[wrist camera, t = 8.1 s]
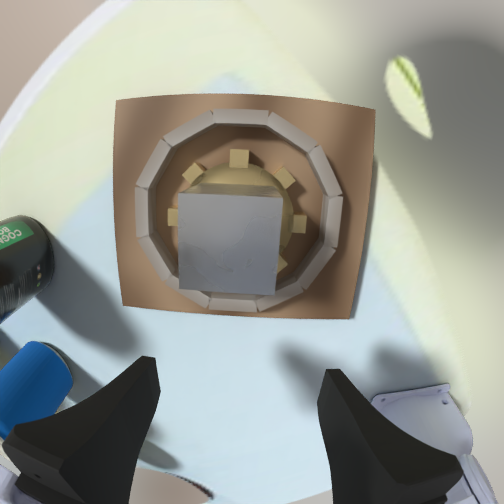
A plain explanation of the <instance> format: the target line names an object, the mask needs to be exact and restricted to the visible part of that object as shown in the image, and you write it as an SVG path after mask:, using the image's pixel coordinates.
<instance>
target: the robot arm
mask: <svg viewBox="0 0 504 504" xmlns="http://www.w3.org/2000/svg"><path fill="white" fill-rule="evenodd" d="M449 389H450V385H449V384H443V385H438V386H433V387H427V388H422V389H416V390H409V391H403V392H396V393H388V394H380V395H376V396H375V397H374V398H373V400H372V402H371V403H370V402H369V401H368V400H367V399H366V398H365V397H364V396H363V395H362V394H361V393H360V392H359V391H358V389H357V388H356V387H355V386H354V385H353V384H352V382H351V381H350V380H349V379H348V378H347V377H346V375H345V374H344V373H343V372H342V371H341V370H340V369H326V372H325V376H324V379H323V383H322V387H321V390H320V394H319V397H318V401H317V406H318V416H319V423H320V427H321V431H322V436H323V440H324V444H325V448H326V452H327V456H328V460H329V465H330V471H331V481H332V491H333V504H498V502H497V500H496V498H495V495H494V492H493V489H492V487H491V485H490V482H489V480H488V478H487V476H486V475H485V473H484V471H483V469H482V468H481V466H480V464H479V463H478V461H477V460H476V458H475V457H474V456H473V455H470V453H471V450H472V446H473V437H472V432H471V429H470V426H469V425H468V423H467V421H466V420H465V418H464V417H463V415H462V413H461V412H460V410H459V409H458V407H457V406H456V404H455V403H454V401H453V400H452V398H451V397H450V395H449V394H448V391H449ZM160 392H161V391H160V385H159V379H158V373H157V367H156V360H155V358H153V357H147V356H141V357H140V358H139V359H137V360H136V361H135V362H134V363H133V364H132V365H130V366H129V367H128V368H127V369H126V370H125V371H123V372H122V373H121V374H120V375H119V376H117V377H116V378H115V379H114V380H112V381H111V382H110V383H109V384H107V385H106V386H105V387H103V388H102V389H101V390H99V391H98V392H96V393H95V394H93V395H92V396H90V397H89V398H87V399H85V400H84V401H82V402H80V403H78V404H76V405H74V406H72V407H70V408H68V409H66V410H63V411H61V412H59V413H57V414H54V415H51V416H48V417H45V418H42V419H38V420H35V421H30V422H26V423H21V424H16V425H15V426H14V427H13V429H12V430H11V432H10V433H9V434H8V436H7V437H6V439H5V440H4V442H3V443H2V448H3V450H4V452H5V454H6V455H7V456H8V458H9V459H10V460H11V461H12V462H13V463H14V465H15V466H16V467H17V468H18V469H19V470H20V472H21V474H20V476H19V477H18V476H17V475H16V474H14V473H13V472H12V471H10V470H8V469H7V468H5V467H4V466H2V465H1V464H0V504H128V503H129V497H130V491H131V486H132V481H133V476H134V471H135V467H136V463H137V459H138V455H139V452H140V449H141V447H142V444H143V442H144V439H145V437H146V434H147V432H148V429H149V427H150V424H151V422H152V419H153V417H154V414H155V411H156V408H157V404H158V400H159V396H160Z"/></svg>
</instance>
